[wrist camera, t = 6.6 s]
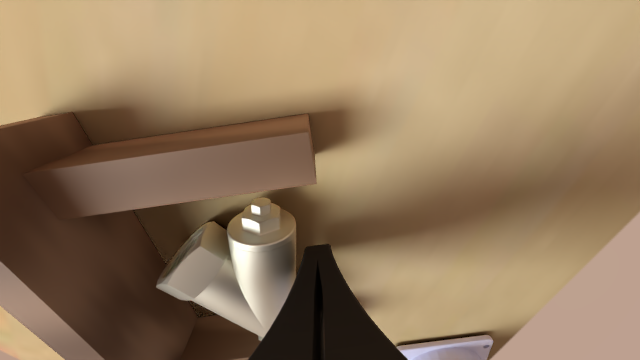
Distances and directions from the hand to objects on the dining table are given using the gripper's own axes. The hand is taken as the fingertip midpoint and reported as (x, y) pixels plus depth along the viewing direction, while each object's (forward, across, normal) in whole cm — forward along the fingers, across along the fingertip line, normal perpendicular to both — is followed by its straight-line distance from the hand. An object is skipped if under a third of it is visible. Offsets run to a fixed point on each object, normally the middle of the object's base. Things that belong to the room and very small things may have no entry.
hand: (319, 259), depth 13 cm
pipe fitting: (+2, +3, 0) cm, 4 cm away
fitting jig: (+1, +5, 0) cm, 5 cm away
